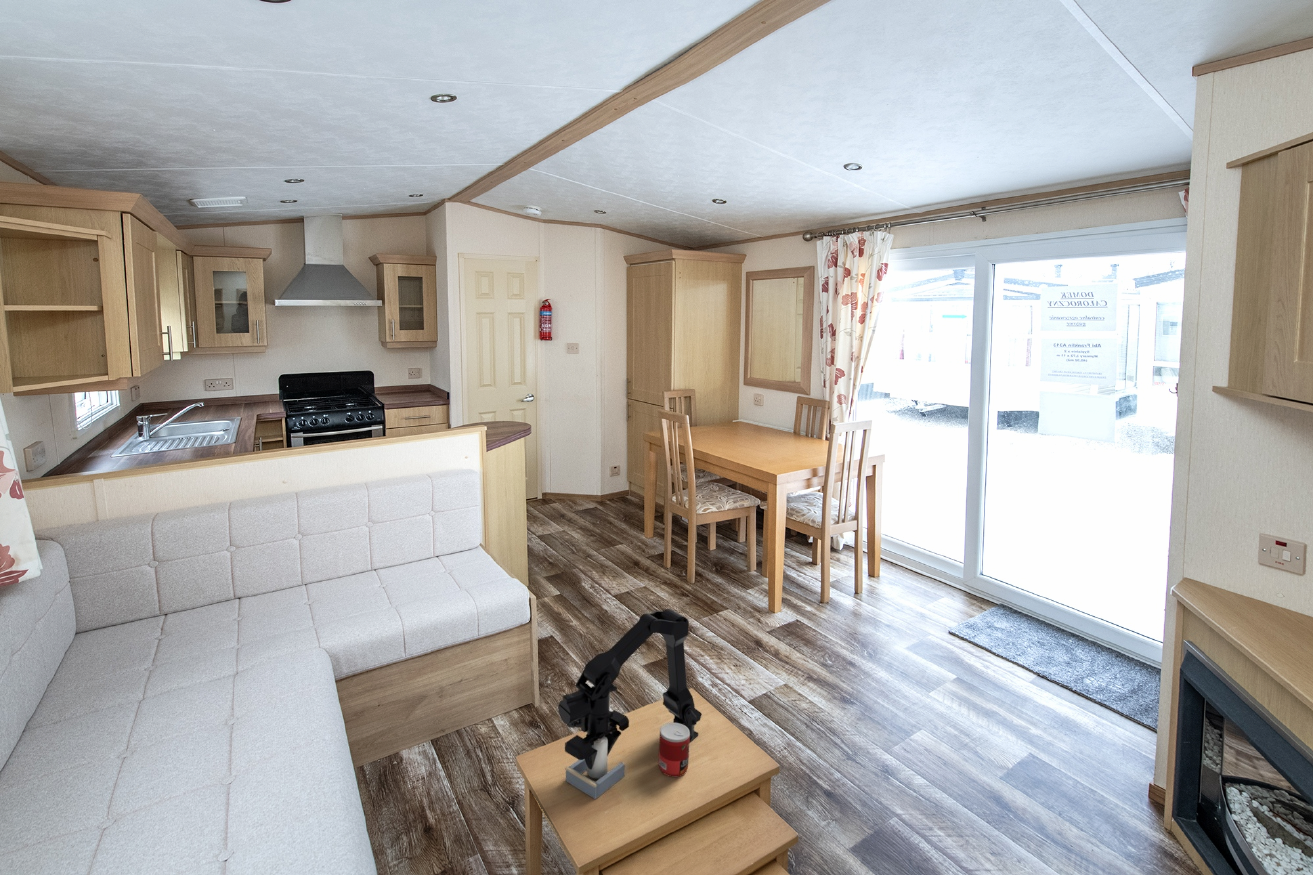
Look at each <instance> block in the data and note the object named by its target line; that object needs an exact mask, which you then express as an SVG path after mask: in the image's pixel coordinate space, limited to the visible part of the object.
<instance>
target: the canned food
mask: <svg viewBox="0 0 1313 875" xmlns="http://www.w3.org/2000/svg"><path fill="white" fill-rule="evenodd" d="M689 742H690V732H689V729H688V728H687V727H686V726H684V725H682V724H679V723H673V722H667V723H665V724H663V725H662V726H661V727H660V730H659V742H658V743H659V744H658V746H659V748H658V749H659V750H658V767H659V770H660V771H661V773H663V774H664V775H665V776H668V775H669V777H672V776H678V777H681V776H684V775H685V774H686V773H687V771H688V769H689V758H690V757H689V756H690V743H691V742H690V743H689ZM685 772H686V773H685ZM684 773H685V774H684ZM680 775H681V776H680Z"/></svg>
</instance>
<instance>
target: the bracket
mask: <svg viewBox="0 0 1313 875" xmlns="http://www.w3.org/2000/svg"><path fill="white" fill-rule="evenodd" d="M625 767H626V764H625V763H624V762H623V761H622V762H619V763H618V764H617V765H616V766H615V767H613V768H612V769H611V770H609V771H607V774H605V775H604V776H603V777H602V778H598V779H597V780H596V781H594V780H592V779H591V778H590V777H588V776H585V775H584V774H583V773H585V772H587V764H586V762H585V759H583V760H578V759H577V760H576V761H575V762H573V763H572V764H570V765H569V766H567V765H566V766H565V767H564V770H565V782H567V783H569V784H570V785H572V786H573V787H575V788H576V789H578V790H580V791H581V792H583V793H584V794H586V795H588V796H589V797H590V798H592V799H594V800H597V799H598V798H599V797H600V796H602V795H603V794H604V793H605V792H607V791H608V790H609V789H610V788H611V787H613V786H614V785H615V784H617V783H618V782H620V781H621V780H622V779H623V778H624V777H625V773H626V770H625V769H626V768H625Z"/></svg>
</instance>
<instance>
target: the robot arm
mask: <svg viewBox="0 0 1313 875" xmlns="http://www.w3.org/2000/svg"><path fill="white" fill-rule="evenodd" d="M689 628H690V623H689V620H688V618H687V617H686V616H684V615H681V614H680V613H679V612H677V611H674V610H673V609H671V608H665V609H664V610H654V611H653V612H651V613H643V614H641V615H640V617H639V619H638V621H637V622H635V624H634V625H633V626H632V627H631V628H630V629H629V630H628V631H627V632H626V633H625V634H624V635H623V636H622V637H620V639H619V640H618V641H617V642H616V643H614V644H613V646H612V647H610V648H609V649H608V650H607V651H605V652H601V653H598V654H596V655H595V656H594V657H592V659H590V660H589V661H588V662H587V663H586V664H585V666H584V669H583V671H582V672H581V674H580V676H579V678H578V680H577V681H576V683H575V685H574V687H575V688H577V691H574V692H572V693H566V694H563V695H562V700H560V701H559V702H558V703H559V704H558V705H557V708H558V709H557V711H558V714H559V718H560V719H561V721H562V722H563V723H564V725H565V724H566V726H567V728H570V729H571V728H573V729H575V728H581V729H580V732H583V733H586V734H585V736H584V738H583V737H581V736H580V735H578V734H576V735H575V736H572V738H570V739H569V740H567V741H566V742H565V743H564V752H565V753H566V754H568V755H570V756H572V757H573V758H575V759H577V761H578V760H583V759H585V762H586V764H587V767H588V768H589V769H590V770H591V769H592V768H593V765H594V761H595V758H596V754H597V750H596V749H594V743H595V742H596V741H597V740H599V739H601V738H602V737H604V736H605V737H606V738H607V739H608V750H607V757H608V756H609V754H610V752H611V750H612V749H613V748H614V746H615V744H616V742H617V740H618V739H619V737H620V736H621V735H622V732H624V731H625V730H627V729H628V728H629V727H630V719H629V718H628V716H627V715H625V714H623V713H621V712H619V711H616V710H615V709H614V710H612V711H611V710H610V705H611V704H610V703H611V702H610V701H611V700H610V698H611V695H610V694H611V693H612V692H615V691H617V690H618V687H617V686H616V685H615V684H613V683H614V682H615V681H616V679H617V678H618V677H619V676H620V673H621V668H622V666H624V663H626V661H627V660H628V659H629V658H631V656H632V655H634V653H635V652H636V651H637V650H638V649H639V648H640V647H642V646H643V644H644V643H645V642H646V641H648V639H649V638H650V637H651V636H652V635H653V634H660V635H661V636H662V639H663V640H664V641H665V649H666V657H667V658H666V662H667V674H668V684H669V685H668V688H667V690H666V691H664V692H663V693H662V699H663V702H662V705H663V706H665V709H667V710H668V713H670V714H671V715H673V716H674V717H673V719H672V720H673V722H672V723H679V724H682V725H684V726H686V727H687V728H688V729H689V732H690V742H689V744H690V743H691V742H692V741H693V740H694V739H695V738H697V737H698V736H699V732H697V731H696V730H695V726H696V725H697V723H698V722H700V721H701V718H702V716H703V714H702V712H701V711H699V710H698V709H697V708H696V707H695V705H696V704H695V701H694V700H695V699H694V696H693V695H692V693H691V691H690V689H689V687H688V684H687V683H688V682H687V671H686V670H687V669H686V668H687V667H686V656H685V644H684V643H685V640H686V639H687V638H688V636H689ZM587 682H589V683H590V684H592V685H593V686H590V685H589V684H588V683H587ZM617 726H618V727H617Z"/></svg>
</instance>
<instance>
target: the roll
mask: <svg viewBox="0 0 1313 875" xmlns="http://www.w3.org/2000/svg"><path fill="white" fill-rule="evenodd" d="M594 749H596V750H597V754H596V758H595V761H594V765H593V768H592V769H591V770H590V769H589V768H588V767H587V770H586V774H587V775H588V776H589V778H590V779H591V778H592V779H597V780H598V779H600V778H602V777H603V776H604V775H605V774H607V773H608V756H607V750H608V739H607V738H606V737H605V736H604V737H602V738H601V739H599V740H597V741H596V742H595V743H594ZM588 776H587V777H588Z"/></svg>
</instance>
